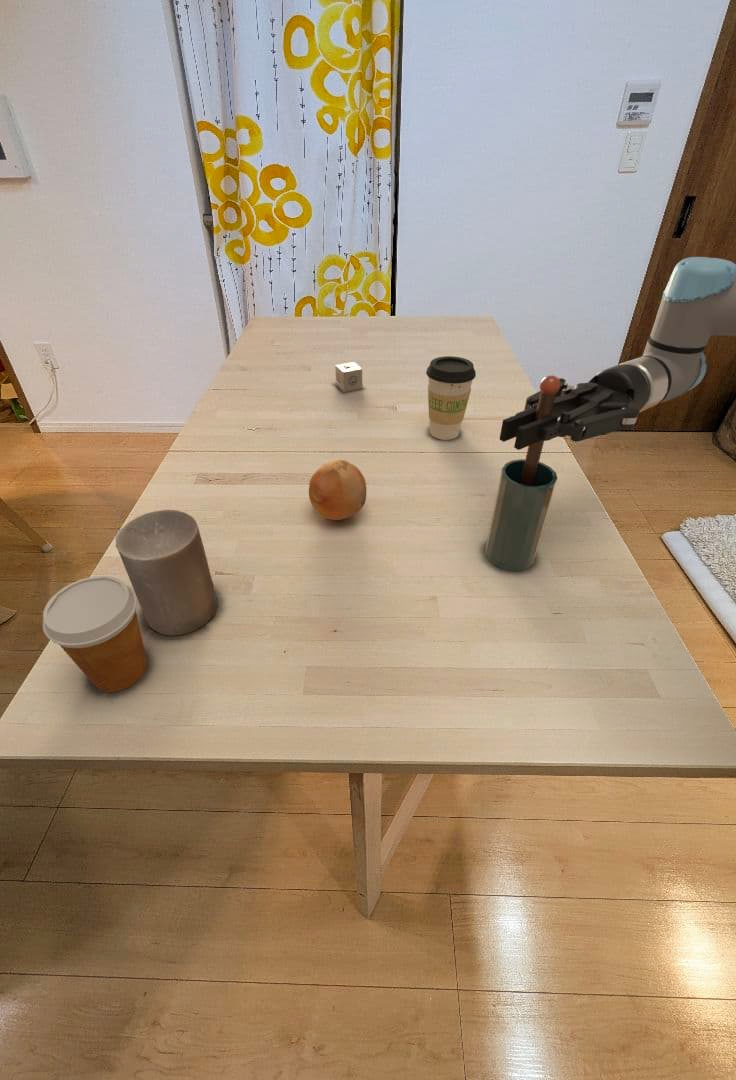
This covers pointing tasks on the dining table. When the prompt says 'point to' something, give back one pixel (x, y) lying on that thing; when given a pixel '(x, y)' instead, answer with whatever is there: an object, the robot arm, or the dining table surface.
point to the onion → (337, 490)
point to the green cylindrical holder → (519, 516)
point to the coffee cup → (448, 394)
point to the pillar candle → (168, 571)
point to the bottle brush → (544, 409)
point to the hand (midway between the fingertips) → (511, 434)
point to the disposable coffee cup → (98, 630)
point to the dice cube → (348, 376)
